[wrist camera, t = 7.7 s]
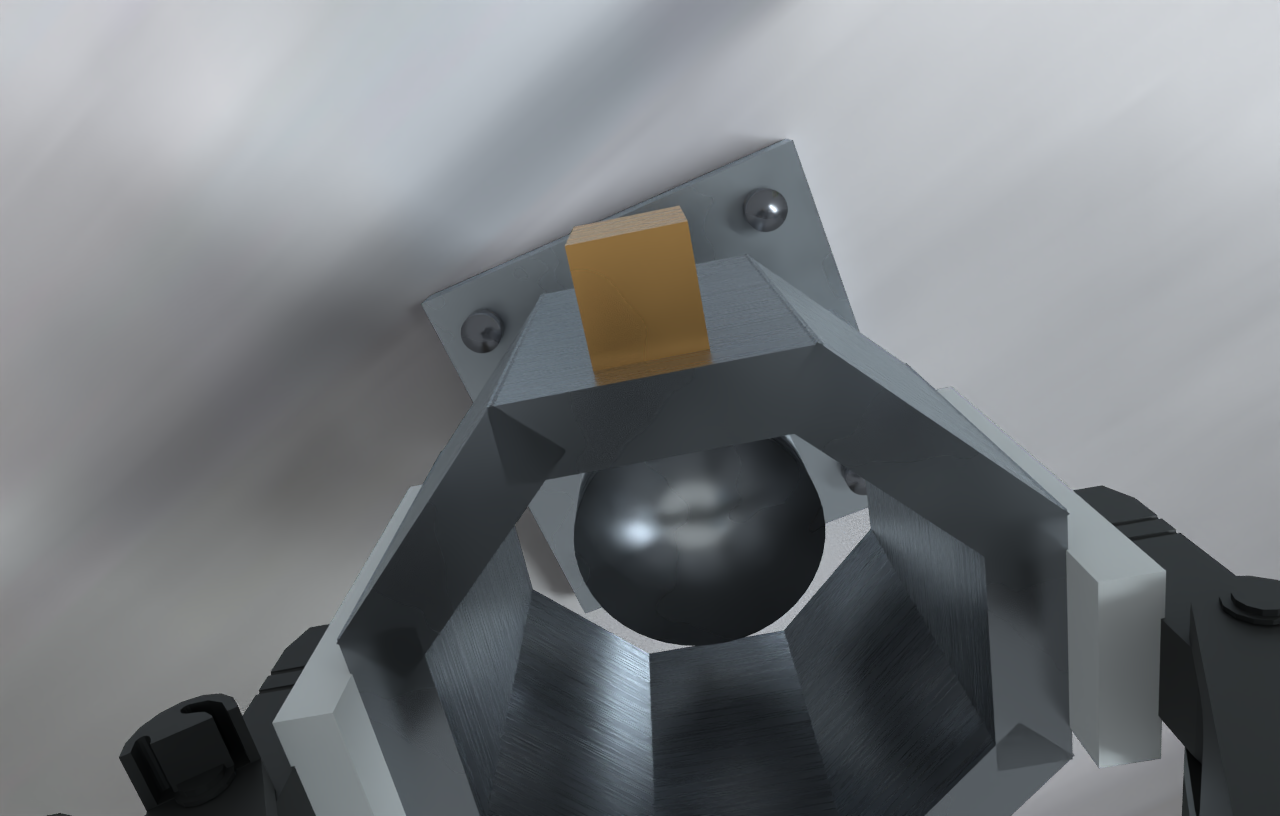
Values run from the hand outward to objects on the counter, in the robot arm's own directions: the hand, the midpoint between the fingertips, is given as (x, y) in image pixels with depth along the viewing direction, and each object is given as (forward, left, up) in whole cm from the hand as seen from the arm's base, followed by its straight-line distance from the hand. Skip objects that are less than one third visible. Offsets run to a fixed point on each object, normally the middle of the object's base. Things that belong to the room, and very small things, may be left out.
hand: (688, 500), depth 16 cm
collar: (0, 0, 0) cm, 0 cm away
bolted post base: (0, 0, -7) cm, 7 cm away
